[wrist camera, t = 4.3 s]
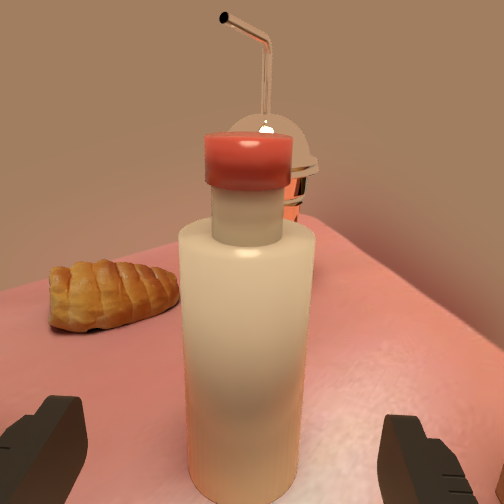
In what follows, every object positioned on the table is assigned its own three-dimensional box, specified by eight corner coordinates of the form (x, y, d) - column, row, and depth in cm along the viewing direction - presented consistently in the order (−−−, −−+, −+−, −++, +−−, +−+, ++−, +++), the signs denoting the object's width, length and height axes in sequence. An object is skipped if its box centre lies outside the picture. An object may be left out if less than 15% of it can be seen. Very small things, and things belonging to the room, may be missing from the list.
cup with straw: (330, 289, 37) (357, 20, 29) (234, 314, 32) (236, 7, 25) (275, 255, 44) (286, 29, 36) (190, 272, 39) (182, 20, 32)
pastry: (169, 281, 38) (167, 240, 36) (190, 320, 32) (188, 273, 31) (50, 299, 34) (43, 254, 33) (50, 346, 29) (40, 294, 27)
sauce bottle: (166, 457, 20) (144, 134, 15) (245, 405, 24) (250, 125, 18) (240, 533, 17) (246, 154, 12) (319, 461, 20) (353, 139, 15)
